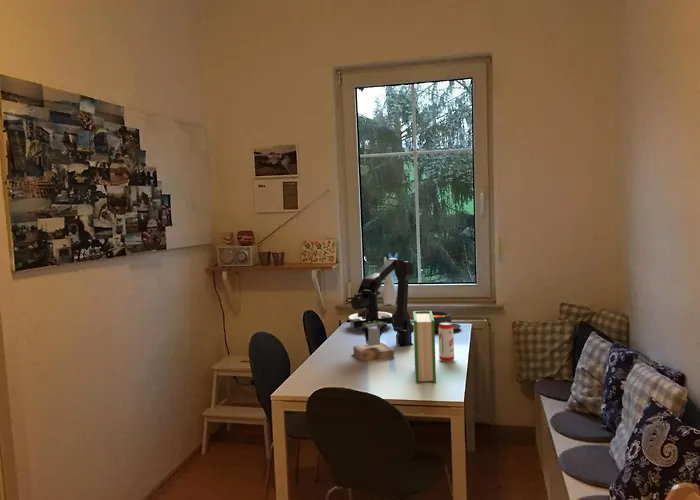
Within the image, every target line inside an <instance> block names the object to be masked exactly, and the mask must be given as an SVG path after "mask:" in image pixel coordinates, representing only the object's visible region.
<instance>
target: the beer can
mask: <svg viewBox="0 0 700 500" xmlns="http://www.w3.org/2000/svg"><path fill="white" fill-rule="evenodd" d="M452 323H453V322H451V323H450V322H441V323H440V325H439V332H438V354H439V355H438V356H439V357H438V358H439V360H440V361H441V362H442V361H443V363H450V361H451V362H453V361H454V359H455V343H454V341H455V339H454V337H455V336H454V330H453V326H452ZM452 360H453V361H452Z"/></svg>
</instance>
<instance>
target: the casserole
mask: <svg viewBox="0 0 700 500" xmlns="http://www.w3.org/2000/svg"><path fill="white" fill-rule="evenodd" d="M431 311H432V310H431ZM432 314H433V318H434V330H435V333H439V325H440V323H441V322H450V323H452V326H453V331H455V330H458V329H460V328H461V325H460V324H459V323H453V322H452V320H453V318H454V317H453V316H452V314H451V313H450V312H447V311H438V310H436V311H435V310H434V311H432ZM412 325H413V324H412ZM413 326H414V325H413Z"/></svg>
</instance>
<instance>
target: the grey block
mask: <svg viewBox="0 0 700 500" xmlns="http://www.w3.org/2000/svg"><path fill="white" fill-rule="evenodd" d="M380 343H381V337H380V329H379V328H377V327H369V328H368V341H366V340H365V345H367V344H368V345H369V346H373V345H380Z"/></svg>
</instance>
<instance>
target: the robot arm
mask: <svg viewBox="0 0 700 500" xmlns="http://www.w3.org/2000/svg"><path fill="white" fill-rule="evenodd" d="M413 270H414V265H413V263H412V262H411V261H408V260H407V261H406V260H405V261H404V260H401V259H399V258H391V257H390V258H388V259H387V260H386V262H384V264H383V265H382V266H380V267H379V268H378V269H377V270H376V271H375V272H374V273H371V274H368V275H367V276H364V277H363V278H362V280H361V283H360V285H359V288H358V290H357V293H354V296H353V297H352V298H351V301H350V305H351V307H352V308H353V310H355V311H357V313H358V317H362V319H366V320H360V319H351V320H349V322H350V327H352V328H354V329H357V328H359V329H361V331H362V333H363V336H364V338H365V342H366V341H368V328H367V327H366V324H372V323H377V327H378V328H379V329H380V338H381V337H382V334H383V331H384V330H385V328H386V327H388V325H391V326H392V329H393V332H396V335H395V344H397V345H398V346H400V347H405V346H414V342H412V339H413V337H412V334H414V326H413V323H412V322H411V316H410V313H409V312H408V300H409V299H408V298H409V297H408V296H409V280H410V279H411V277H412V275H413ZM393 271H394V276H395V278H396V279H397V291H396V293H397V295H396V296H397V297H396V310H395V312H394V313H391V314H392V317H391V316H389V315H386V316H382V317H381V318H378V312H380V309H379V300H378V297H379V295H381V292H380V291H379V290H380V287H382V283H383V281H384V279H386V278H387V277H388V276H389V275H390V274H391V273H392V272H393ZM370 321H371V322H370ZM386 323H387V324H386Z"/></svg>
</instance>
